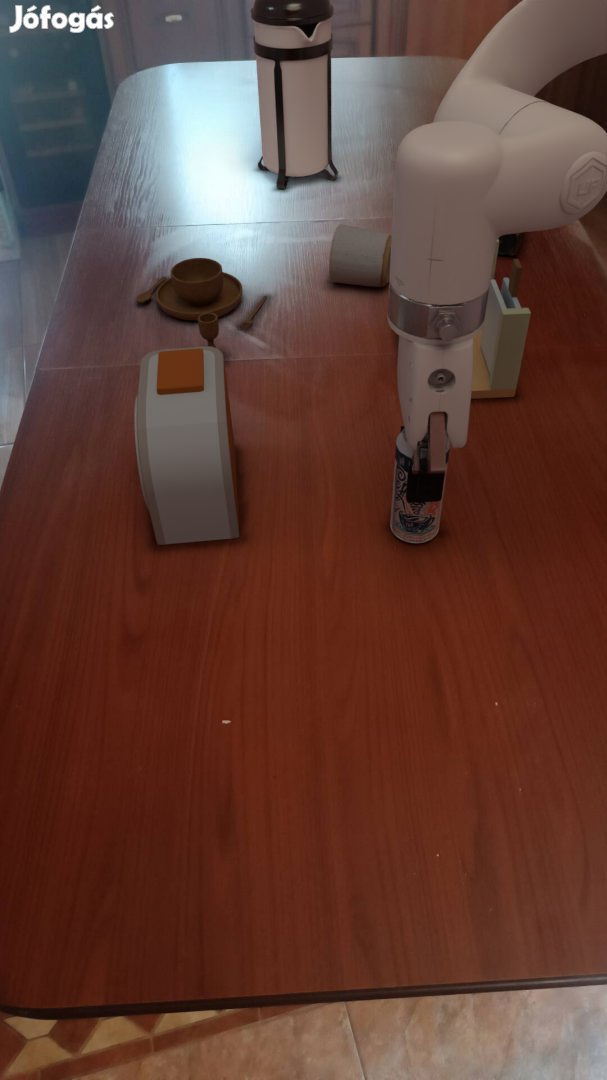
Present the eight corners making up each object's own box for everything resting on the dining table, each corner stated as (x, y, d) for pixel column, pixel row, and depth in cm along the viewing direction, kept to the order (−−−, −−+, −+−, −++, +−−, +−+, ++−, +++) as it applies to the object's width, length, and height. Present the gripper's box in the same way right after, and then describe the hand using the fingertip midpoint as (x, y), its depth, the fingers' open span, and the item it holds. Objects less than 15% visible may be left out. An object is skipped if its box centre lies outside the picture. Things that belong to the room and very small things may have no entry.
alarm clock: (158, 449, 89) (136, 343, 79) (234, 443, 90) (222, 337, 80) (154, 545, 79) (128, 437, 69) (240, 537, 79) (226, 429, 69)
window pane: (497, 343, 99) (513, 247, 90) (509, 376, 94) (527, 279, 85) (492, 343, 99) (508, 247, 90) (504, 376, 94) (522, 279, 85)
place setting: (275, 289, 113) (273, 249, 109) (223, 367, 100) (218, 326, 96) (162, 274, 117) (156, 235, 113) (98, 347, 104) (88, 306, 100)
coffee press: (356, 162, 144) (360, -41, 122) (315, 197, 134) (312, -17, 112) (272, 148, 150) (261, -48, 128) (227, 180, 140) (207, -26, 118)
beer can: (388, 544, 78) (394, 448, 69) (392, 510, 81) (398, 415, 73) (437, 548, 77) (450, 453, 69) (439, 514, 81) (452, 419, 72)
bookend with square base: (485, 316, 106) (497, 236, 99) (514, 397, 94) (531, 313, 86) (395, 320, 106) (400, 241, 99) (412, 401, 94) (419, 317, 86)
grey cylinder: (385, 298, 110) (388, 244, 105) (327, 291, 112) (327, 238, 107) (398, 263, 118) (402, 211, 112) (344, 257, 119) (345, 206, 114)
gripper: (509, 363, 56) (475, 543, 69) (466, 249, 67) (445, 422, 81) (401, 367, 56) (388, 547, 69) (377, 252, 67) (370, 425, 81)
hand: (419, 478), depth 74 cm, fingers closed on beer can, 4 cm apart
